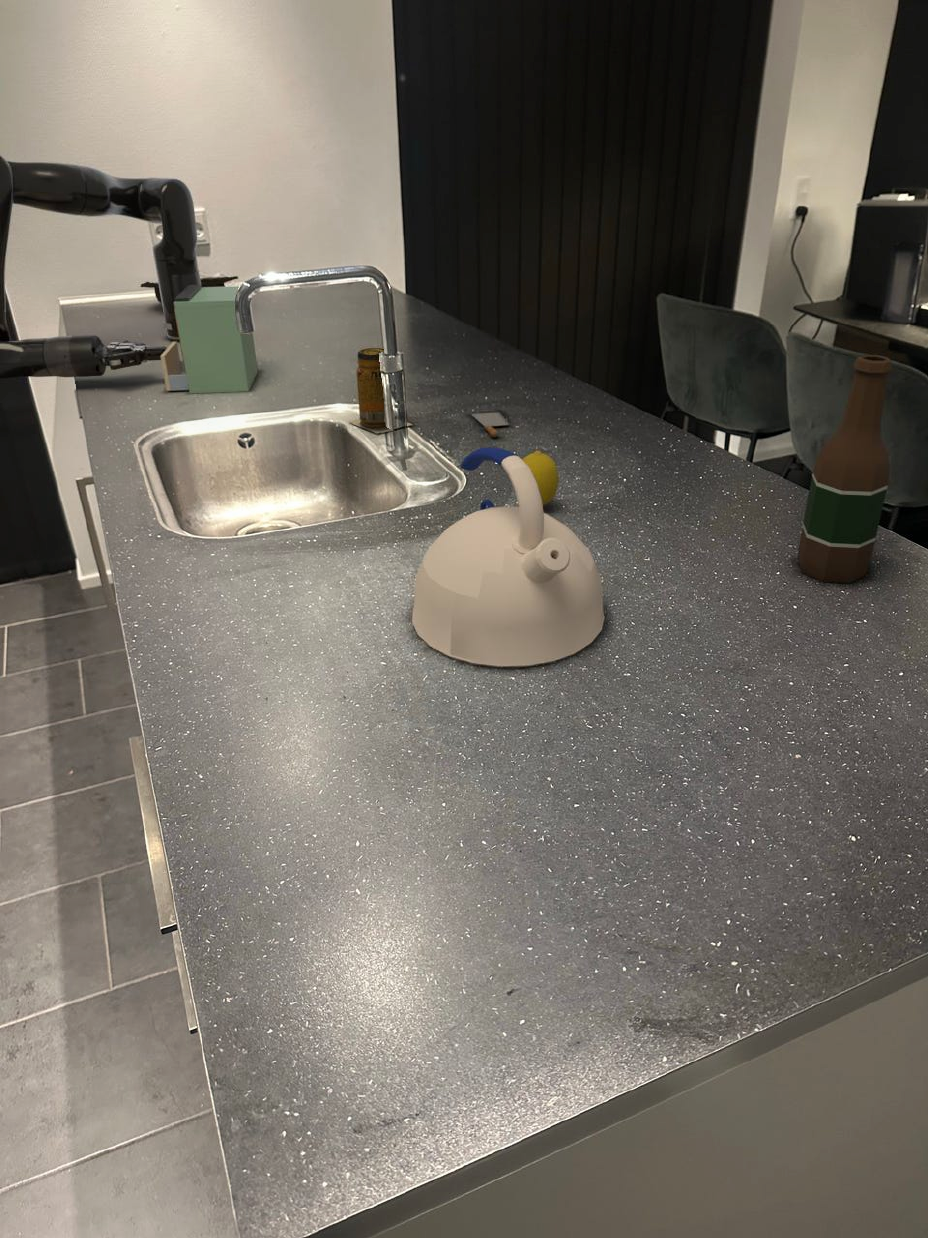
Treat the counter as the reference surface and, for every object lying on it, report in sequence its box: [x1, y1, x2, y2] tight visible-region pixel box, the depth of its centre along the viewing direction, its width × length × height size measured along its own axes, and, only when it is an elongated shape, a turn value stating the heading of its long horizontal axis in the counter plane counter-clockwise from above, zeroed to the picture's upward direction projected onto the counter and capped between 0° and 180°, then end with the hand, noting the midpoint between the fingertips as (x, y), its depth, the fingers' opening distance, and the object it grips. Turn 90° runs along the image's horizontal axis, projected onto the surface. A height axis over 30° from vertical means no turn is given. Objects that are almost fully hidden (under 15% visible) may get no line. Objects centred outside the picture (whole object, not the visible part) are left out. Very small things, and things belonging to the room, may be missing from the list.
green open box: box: [174, 285, 259, 394], centre depth 171 cm, size 14×11×17 cm
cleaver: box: [470, 411, 510, 439], centre depth 150 cm, size 13×1×5 cm
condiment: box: [349, 347, 413, 434], centre depth 148 cm, size 7×8×12 cm
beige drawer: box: [160, 341, 189, 392], centre depth 174 cm, size 11×11×6 cm
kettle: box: [411, 446, 605, 668], centre depth 91 cm, size 20×21×18 cm
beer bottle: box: [797, 354, 894, 584], centre depth 97 cm, size 8×8×24 cm
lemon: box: [522, 450, 559, 506], centre depth 118 cm, size 6×6×8 cm
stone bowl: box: [140, 275, 239, 304], centre depth 235 cm, size 25×25×9 cm
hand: (167, 352), depth 172 cm, fingers closed
